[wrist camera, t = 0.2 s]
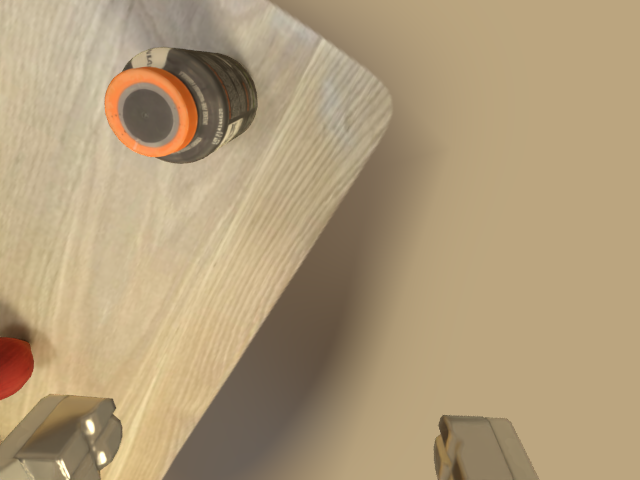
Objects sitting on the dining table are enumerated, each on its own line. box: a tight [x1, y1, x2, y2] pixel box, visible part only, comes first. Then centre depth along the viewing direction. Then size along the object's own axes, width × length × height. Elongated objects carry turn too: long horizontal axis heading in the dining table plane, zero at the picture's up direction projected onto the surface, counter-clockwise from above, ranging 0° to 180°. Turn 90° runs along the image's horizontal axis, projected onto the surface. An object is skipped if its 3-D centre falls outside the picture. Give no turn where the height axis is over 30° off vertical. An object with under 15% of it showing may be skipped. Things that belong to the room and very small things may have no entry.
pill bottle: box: [105, 47, 257, 164], centre depth 22 cm, size 6×6×11 cm
